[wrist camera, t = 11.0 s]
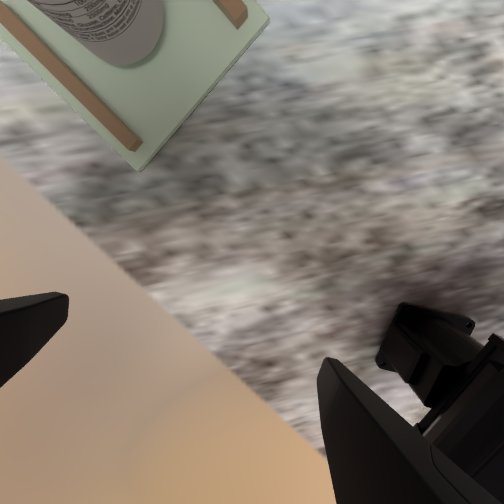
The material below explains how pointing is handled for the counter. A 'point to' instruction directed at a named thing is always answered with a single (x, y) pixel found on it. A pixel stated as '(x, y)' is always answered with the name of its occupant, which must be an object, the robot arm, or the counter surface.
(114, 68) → the mat
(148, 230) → the counter surface
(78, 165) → the counter surface
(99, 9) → the energy drink can
